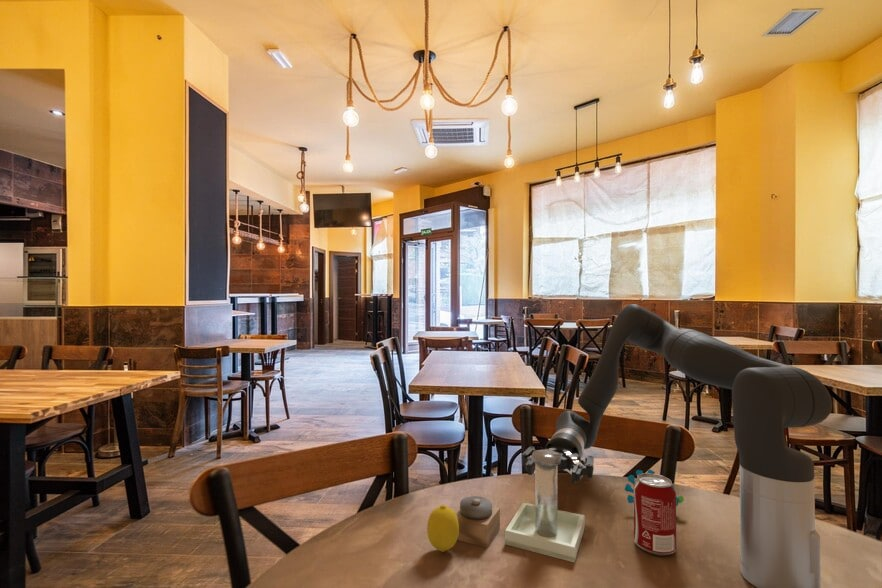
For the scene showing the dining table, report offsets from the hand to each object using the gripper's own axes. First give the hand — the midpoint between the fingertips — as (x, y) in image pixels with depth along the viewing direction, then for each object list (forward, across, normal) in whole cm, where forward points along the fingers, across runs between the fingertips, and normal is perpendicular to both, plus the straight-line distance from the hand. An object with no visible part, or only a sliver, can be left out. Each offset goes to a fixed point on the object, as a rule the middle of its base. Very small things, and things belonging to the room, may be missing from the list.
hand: (551, 474), depth 84 cm
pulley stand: (+10, -12, +10) cm, 18 cm away
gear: (-14, +18, +10) cm, 25 cm away
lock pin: (+5, 0, +9) cm, 10 cm away
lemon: (+18, -15, +10) cm, 25 cm away
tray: (+5, 0, +10) cm, 11 cm away
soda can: (0, +18, +10) cm, 21 cm away
